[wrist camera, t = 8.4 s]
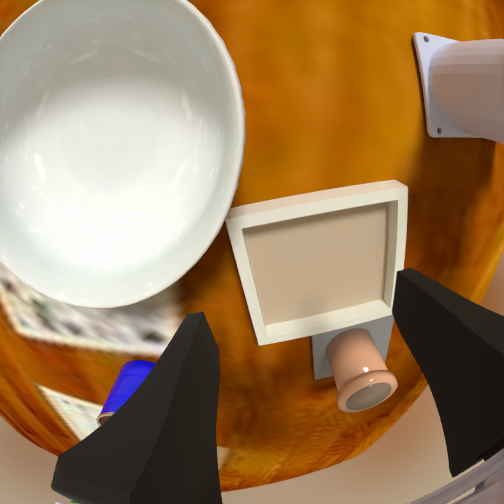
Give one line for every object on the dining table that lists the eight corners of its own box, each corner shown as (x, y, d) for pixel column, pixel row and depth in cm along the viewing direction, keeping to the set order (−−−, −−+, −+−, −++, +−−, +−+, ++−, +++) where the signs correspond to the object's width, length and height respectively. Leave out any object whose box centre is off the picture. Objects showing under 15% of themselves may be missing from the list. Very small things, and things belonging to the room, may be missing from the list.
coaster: (393, 303, 23) (395, 307, 22) (383, 357, 27) (385, 361, 26) (309, 324, 23) (311, 328, 23) (313, 375, 27) (315, 380, 27)
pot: (368, 316, 23) (394, 370, 17) (378, 347, 25) (400, 395, 20) (315, 342, 24) (331, 399, 18) (332, 369, 26) (347, 419, 21)
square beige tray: (394, 179, 18) (407, 186, 16) (388, 300, 23) (397, 313, 21) (226, 209, 18) (224, 219, 17) (257, 330, 23) (258, 345, 22)
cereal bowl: (297, 146, 16) (334, 170, 10) (123, 286, 21) (91, 350, 15) (136, -25, 10) (94, -70, 3) (-3, 144, 14) (-63, 168, 8)
